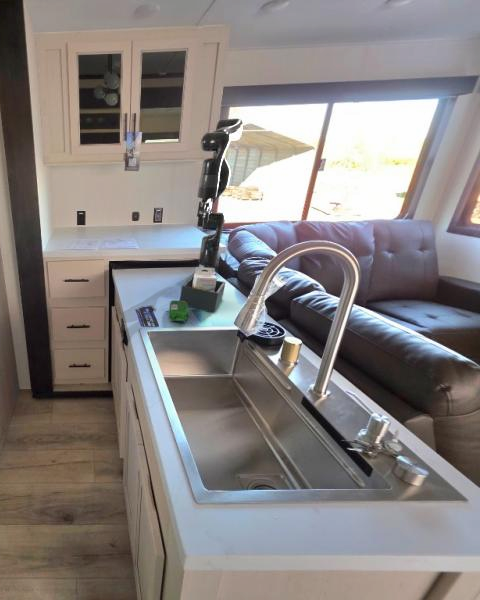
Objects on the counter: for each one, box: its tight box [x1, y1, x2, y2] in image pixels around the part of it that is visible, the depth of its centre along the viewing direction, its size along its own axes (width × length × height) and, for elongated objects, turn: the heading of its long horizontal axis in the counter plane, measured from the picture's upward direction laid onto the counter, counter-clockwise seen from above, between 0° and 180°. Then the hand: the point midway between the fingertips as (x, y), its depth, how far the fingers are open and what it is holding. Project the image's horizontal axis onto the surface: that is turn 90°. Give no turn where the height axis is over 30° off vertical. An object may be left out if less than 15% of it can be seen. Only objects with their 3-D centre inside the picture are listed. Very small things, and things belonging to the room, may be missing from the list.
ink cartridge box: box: [192, 266, 218, 292], centre depth 136 cm, size 9×5×15 cm, turn 84°
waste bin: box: [179, 275, 226, 314], centre depth 138 cm, size 16×15×9 cm
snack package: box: [168, 300, 189, 322], centre depth 125 cm, size 7×16×5 cm, turn 165°
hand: (202, 224), depth 138 cm, fingers open, 8 cm apart
